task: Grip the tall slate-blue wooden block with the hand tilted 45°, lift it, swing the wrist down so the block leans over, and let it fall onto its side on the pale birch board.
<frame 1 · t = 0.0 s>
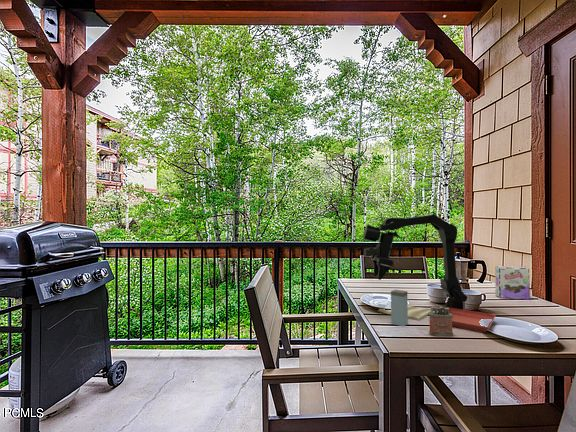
hand: (376, 277, 139), 15 cm above the table, tool pointing down, fingers open, 9 cm apart
birch board: (405, 312, 138), on the table
slate block: (399, 323, 123), on the table
candy box: (512, 298, 162), on the table
reddish brown box: (441, 335, 111), on the table
red flat slab: (466, 324, 123), on the table
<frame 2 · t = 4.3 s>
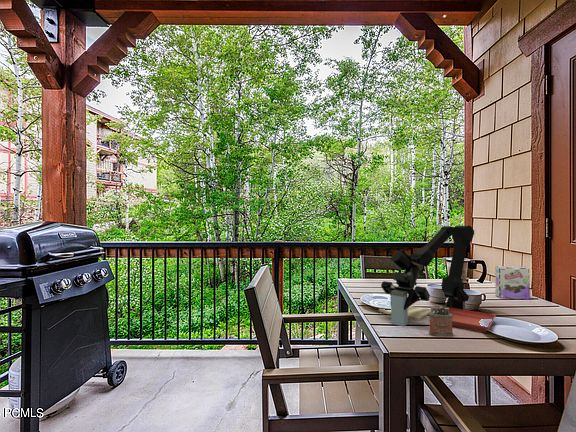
hand: (397, 307, 122), 7 cm above the table, tool tilted 45°, fingers closed on slate block, 5 cm apart
slate block: (399, 323, 123), on the table, touching gripper
everything else where it was.
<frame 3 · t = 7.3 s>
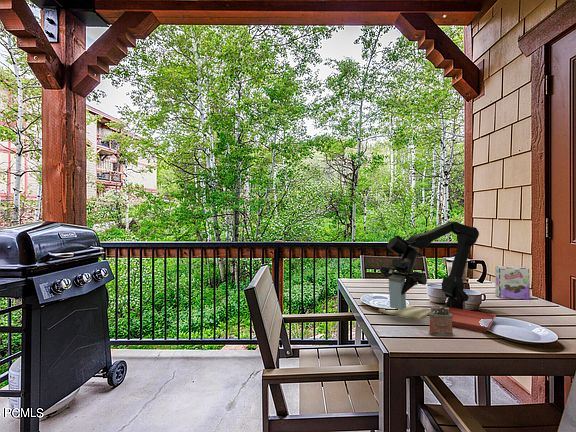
hand: (395, 292, 126), 12 cm above the table, tool tilted 35°, fingers closed on slate block, 5 cm apart
slate block: (398, 307, 127), point 5 cm above the table, tilted 8°, touching gripper
everything else where it was.
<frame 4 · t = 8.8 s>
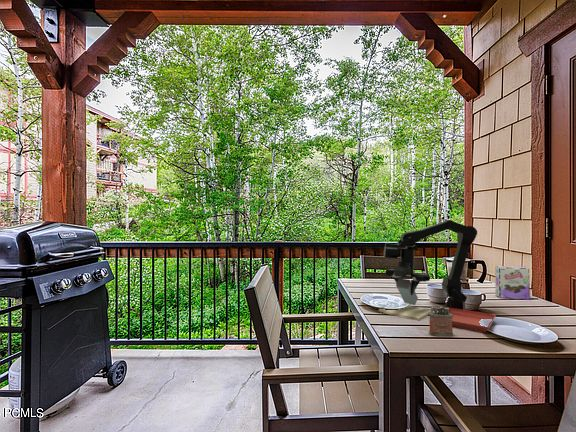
hand: (405, 293, 139), 8 cm above the table, tool pointing down, fingers closed on slate block, 5 cm apart
slate block: (411, 300, 143), point 4 cm above the table, tilted 42°, touching gripper
everything else where it was.
when the fingers open (7 cm above the table, at t = 10.4 s): slate block moves 2 cm and tips over, resting on birch board.
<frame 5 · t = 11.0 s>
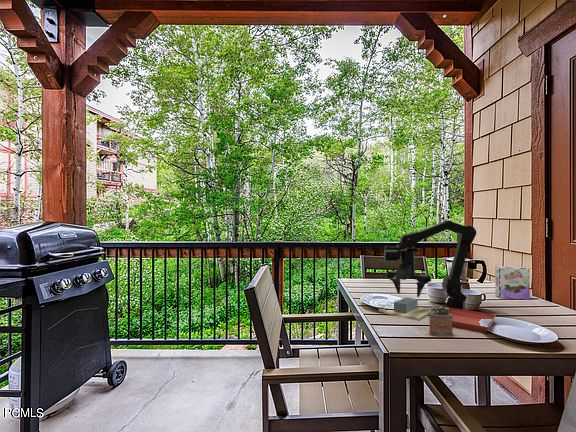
hand: (408, 295, 140), 7 cm above the table, tool pointing down, fingers open, 9 cm apart
slate block: (412, 302, 143), point 3 cm above the table, tilted 90°, touching birch board
everything else where it was.
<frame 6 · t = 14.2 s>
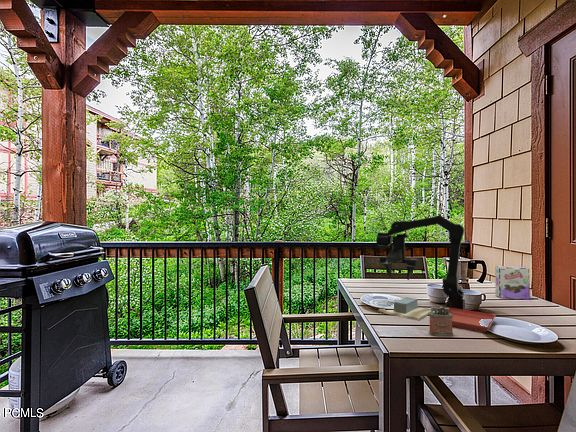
hand: (399, 278, 150), 13 cm above the table, tool pointing down, fingers open, 9 cm apart
nothing on the table moved.
at the end: slate block tilted 90°; slate block inside the target area on the birch board (7.5 cm from its centre), point 3.0 cm above the birch board's base; the gripper is holding nothing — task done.
